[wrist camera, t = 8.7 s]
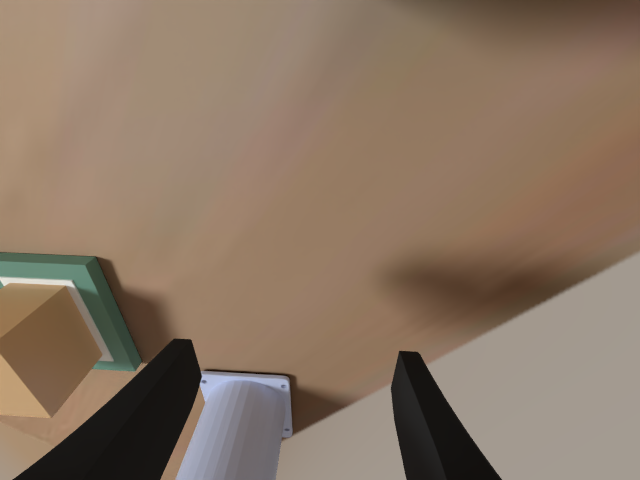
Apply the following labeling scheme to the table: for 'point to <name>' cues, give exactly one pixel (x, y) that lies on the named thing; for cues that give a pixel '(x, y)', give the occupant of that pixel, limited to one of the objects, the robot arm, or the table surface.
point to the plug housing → (41, 349)
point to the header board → (79, 300)
